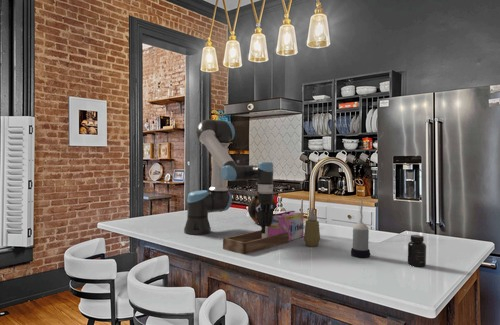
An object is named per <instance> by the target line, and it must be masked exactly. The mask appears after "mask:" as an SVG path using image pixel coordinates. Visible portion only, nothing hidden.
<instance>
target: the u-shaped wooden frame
mask: <svg viewBox="0 0 500 325" xmlns="http://www.w3.org/2000/svg"><path fill="white" fill-rule="evenodd" d="M289 242H290V241H289V233H288V232H286V233H282V234H278V235H274V236H270V237H265V238H262V233H261V229H260V230H255V231H250V232H245V233H241V234H237V235H232V236H226V237H223V238H222V249H223V250H227V251H231V252H235V253H238V254H241V255H248V254H252V253H254V252H258V251H261V250H262V251H263V250H265V249H270V248H273V247H276V246H277V247H278V246H280V244H281V245H284V244H288V243H289ZM251 252H252V253H251Z"/></svg>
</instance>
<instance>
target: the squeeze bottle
mask: <svg viewBox="0 0 500 325" xmlns="http://www.w3.org/2000/svg"><path fill="white" fill-rule="evenodd" d="M315 214H316V213H315V210H314V208H311V209H310V213H309V215H308V216H307V220H306V221H305V224H304V236H303V240H304V242H305V246H308V247H318V246H319V243H320V241H321V232H320V223H319V222H320V221H319V220H318V216H316V215H315Z"/></svg>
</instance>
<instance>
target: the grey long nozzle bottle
mask: <svg viewBox="0 0 500 325" xmlns="http://www.w3.org/2000/svg"><path fill="white" fill-rule="evenodd" d="M363 203H364V202H363V199H361V200H359V206H358V207H359V211H358V212H359V221H358V222H357V223H356V224H355V225H353V229H352V248H351V249H350V256H351V257H353V258H356V259H369V258H370V256H371V249H369V241H370V240H369V234H370V233H369V232H370V231H369V227H368V226H367V224H365V223H364V222H363V216H364V215H363Z"/></svg>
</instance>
